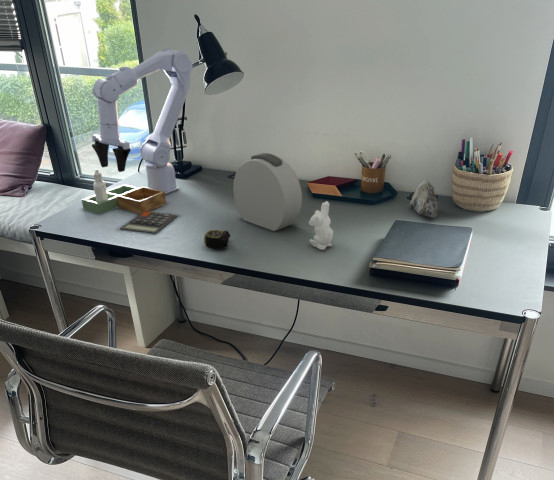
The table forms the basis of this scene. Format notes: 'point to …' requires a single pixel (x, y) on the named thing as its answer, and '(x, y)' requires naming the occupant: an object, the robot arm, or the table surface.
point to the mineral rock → (425, 200)
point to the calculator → (148, 222)
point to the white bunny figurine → (321, 227)
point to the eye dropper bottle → (99, 187)
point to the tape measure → (216, 239)
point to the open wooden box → (141, 200)
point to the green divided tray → (107, 204)
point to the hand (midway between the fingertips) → (113, 169)
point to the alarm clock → (267, 192)
